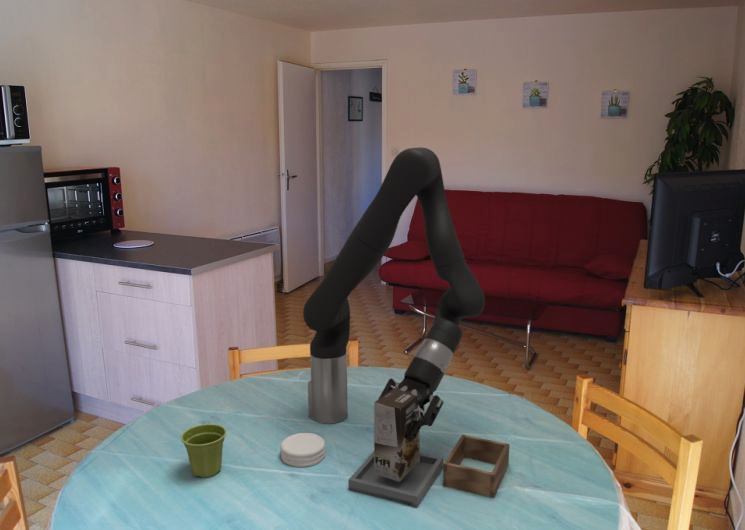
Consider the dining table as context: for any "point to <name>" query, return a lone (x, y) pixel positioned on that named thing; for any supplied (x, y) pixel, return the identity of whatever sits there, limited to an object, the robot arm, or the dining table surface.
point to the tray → (403, 491)
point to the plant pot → (204, 448)
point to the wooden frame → (472, 477)
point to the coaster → (303, 449)
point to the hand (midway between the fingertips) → (393, 433)
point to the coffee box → (394, 435)
